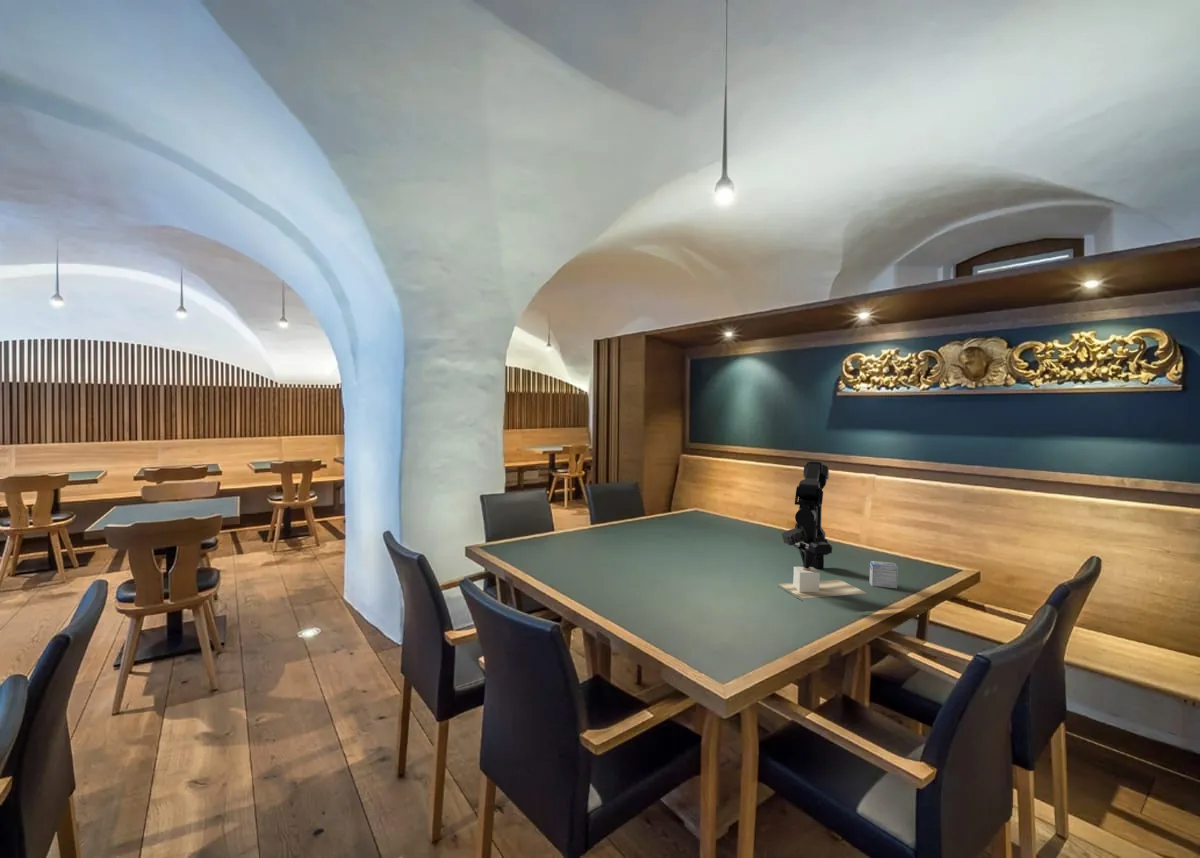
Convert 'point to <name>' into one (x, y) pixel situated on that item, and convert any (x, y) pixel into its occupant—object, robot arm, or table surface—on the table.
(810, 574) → the knobbed cube
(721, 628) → the table surface
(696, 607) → the table surface
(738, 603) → the table surface
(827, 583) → the tan board
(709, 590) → the table surface
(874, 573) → the medicine box
